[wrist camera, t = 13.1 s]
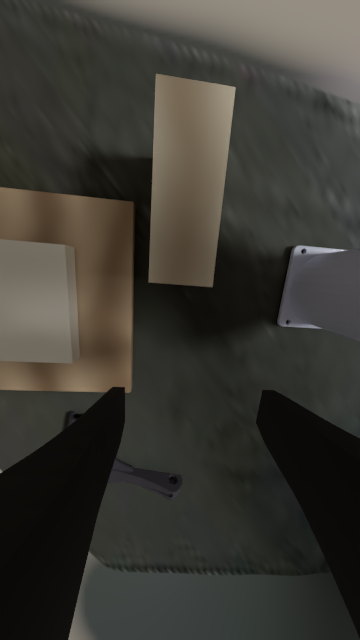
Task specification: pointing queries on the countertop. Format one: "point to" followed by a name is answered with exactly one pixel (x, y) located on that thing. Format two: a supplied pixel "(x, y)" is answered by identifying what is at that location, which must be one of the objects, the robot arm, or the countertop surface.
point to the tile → (38, 303)
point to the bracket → (142, 476)
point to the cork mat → (80, 286)
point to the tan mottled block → (188, 178)
